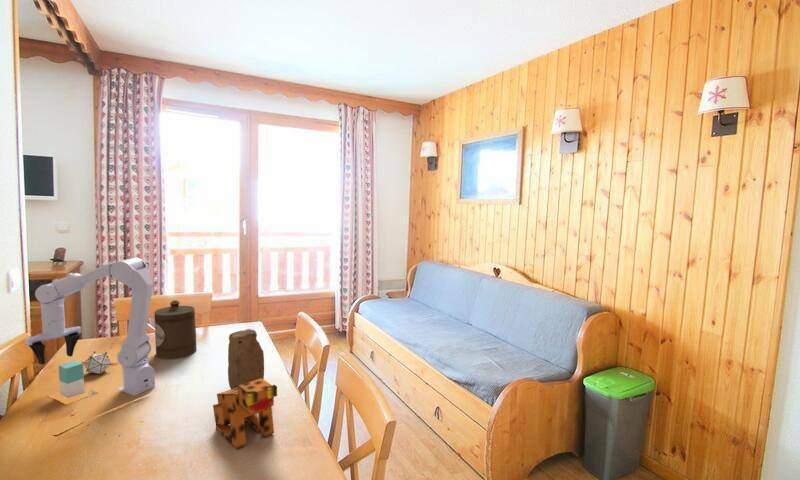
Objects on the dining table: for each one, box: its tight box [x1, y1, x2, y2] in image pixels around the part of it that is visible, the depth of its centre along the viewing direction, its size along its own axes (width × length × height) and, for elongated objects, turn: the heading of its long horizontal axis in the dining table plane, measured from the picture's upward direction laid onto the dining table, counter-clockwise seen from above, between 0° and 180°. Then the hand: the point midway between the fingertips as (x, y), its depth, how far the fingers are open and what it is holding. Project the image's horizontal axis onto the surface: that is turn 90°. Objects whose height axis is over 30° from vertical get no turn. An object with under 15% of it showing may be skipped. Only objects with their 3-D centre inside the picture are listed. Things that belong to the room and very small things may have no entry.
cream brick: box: [59, 377, 85, 398], centre depth 131 cm, size 5×5×5 cm
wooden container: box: [154, 299, 197, 360], centre depth 168 cm, size 15×15×22 cm
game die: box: [81, 350, 114, 375], centre depth 147 cm, size 9×8×10 cm
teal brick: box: [58, 360, 85, 384], centre depth 130 cm, size 5×5×5 cm
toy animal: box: [212, 378, 278, 450], centre depth 112 cm, size 10×20×16 cm, turn 45°
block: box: [227, 328, 265, 390], centre depth 138 cm, size 11×8×20 cm
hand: (56, 359), depth 134 cm, fingers open, 7 cm apart
